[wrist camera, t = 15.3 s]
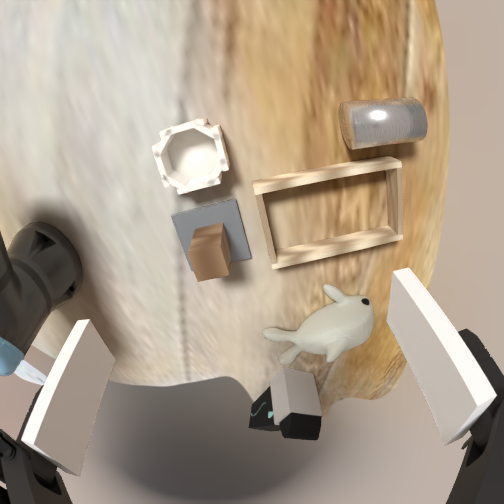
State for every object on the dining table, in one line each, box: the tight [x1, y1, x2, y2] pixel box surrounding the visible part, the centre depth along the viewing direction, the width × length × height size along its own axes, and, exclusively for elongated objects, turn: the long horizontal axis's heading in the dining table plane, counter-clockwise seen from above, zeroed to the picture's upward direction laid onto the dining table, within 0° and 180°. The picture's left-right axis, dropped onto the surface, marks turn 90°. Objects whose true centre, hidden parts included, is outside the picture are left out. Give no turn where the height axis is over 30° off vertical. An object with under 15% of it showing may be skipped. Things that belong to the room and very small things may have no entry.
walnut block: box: [188, 222, 230, 282], centre depth 38 cm, size 4×4×7 cm
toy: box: [262, 284, 374, 365], centre depth 46 cm, size 17×19×10 cm
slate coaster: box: [171, 199, 251, 271], centre depth 41 cm, size 9×9×1 cm
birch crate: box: [252, 156, 403, 269], centre depth 38 cm, size 20×12×4 cm, turn 103°
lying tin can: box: [339, 97, 427, 150], centre depth 31 cm, size 10×6×6 cm, turn 103°
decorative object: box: [249, 367, 323, 440], centre depth 54 cm, size 8×18×15 cm, turn 154°
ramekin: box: [152, 117, 230, 195], centre depth 34 cm, size 8×8×4 cm
